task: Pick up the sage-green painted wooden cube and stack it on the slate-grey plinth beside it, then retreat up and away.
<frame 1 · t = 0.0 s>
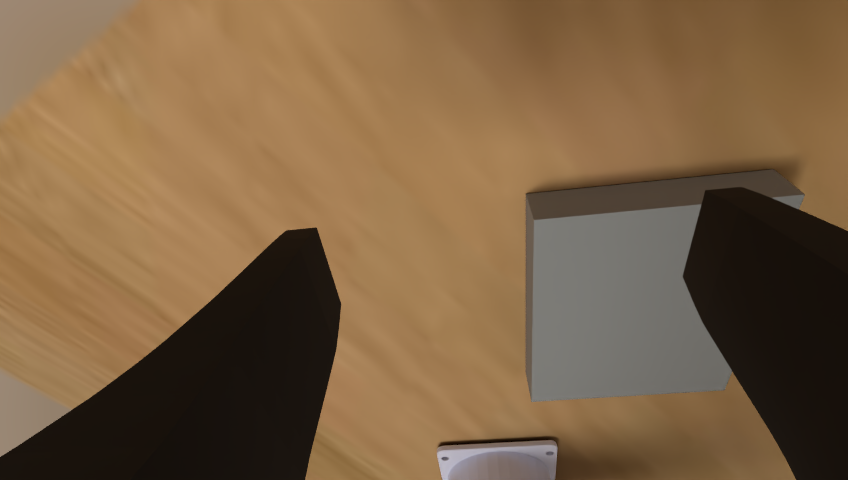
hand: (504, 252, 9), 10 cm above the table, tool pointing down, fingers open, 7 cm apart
slate plinth: (628, 287, 23), on the table
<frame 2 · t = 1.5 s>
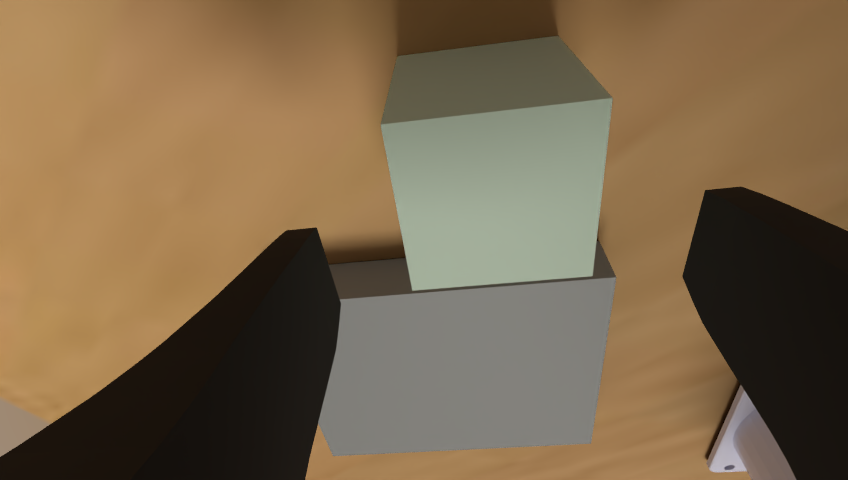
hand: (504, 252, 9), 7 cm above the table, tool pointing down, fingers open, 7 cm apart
slate plinth: (447, 344, 20), on the table
sage cube: (480, 121, 14), on the table
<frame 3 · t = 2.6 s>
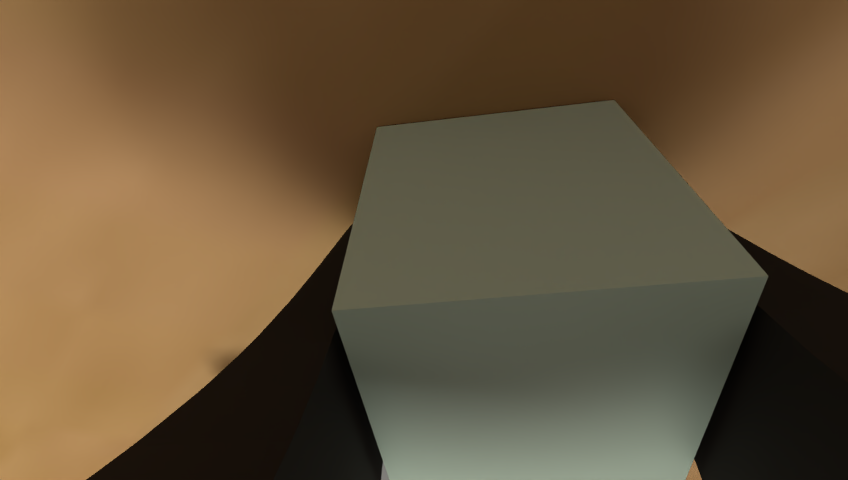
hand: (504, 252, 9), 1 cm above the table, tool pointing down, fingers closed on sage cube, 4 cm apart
sage cube: (496, 212, 10), on the table, touching gripper
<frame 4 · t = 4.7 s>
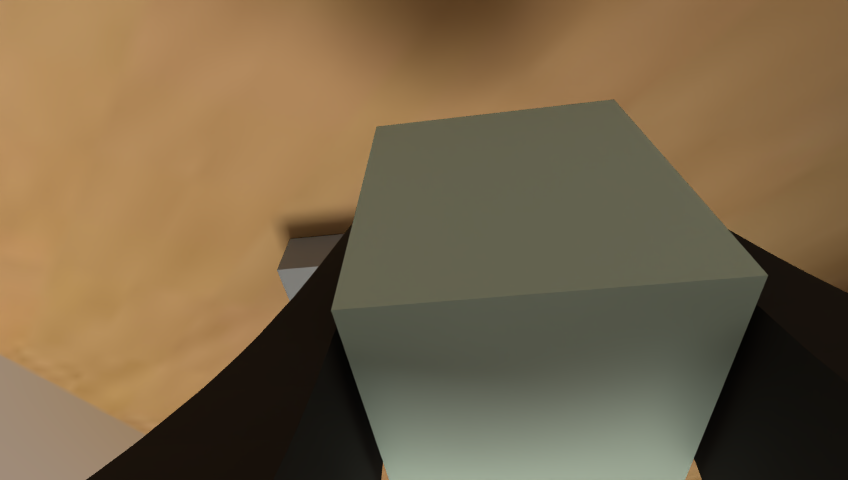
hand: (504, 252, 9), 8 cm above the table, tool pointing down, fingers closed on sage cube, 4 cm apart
slate plinth: (445, 312, 22), on the table
sage cube: (496, 211, 10), point 7 cm above the table, touching gripper
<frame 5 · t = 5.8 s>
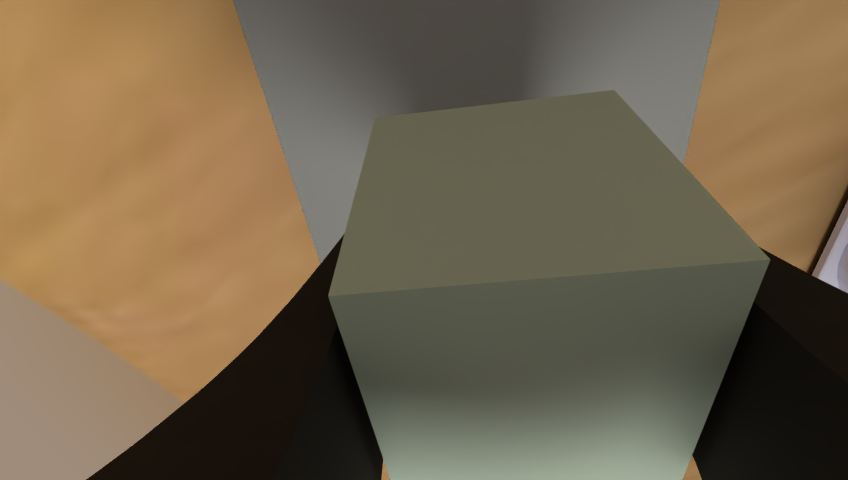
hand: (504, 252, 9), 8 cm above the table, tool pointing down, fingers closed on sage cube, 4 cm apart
slate plinth: (477, 107, 15), on the table
sage cube: (496, 204, 10), point 6 cm above the table, touching gripper
when the fingers open (4 cm above the table, at t = 6.9 s): sage cube stays where it is, resting on slate plinth.
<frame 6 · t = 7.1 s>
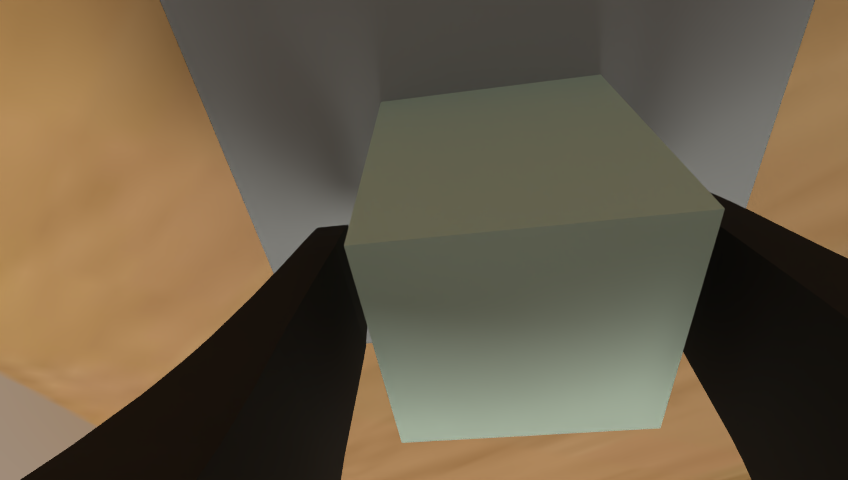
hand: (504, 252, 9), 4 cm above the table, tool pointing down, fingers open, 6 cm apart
slate plinth: (485, 151, 13), on the table
sage cube: (493, 183, 11), point 2 cm above the table, touching slate plinth
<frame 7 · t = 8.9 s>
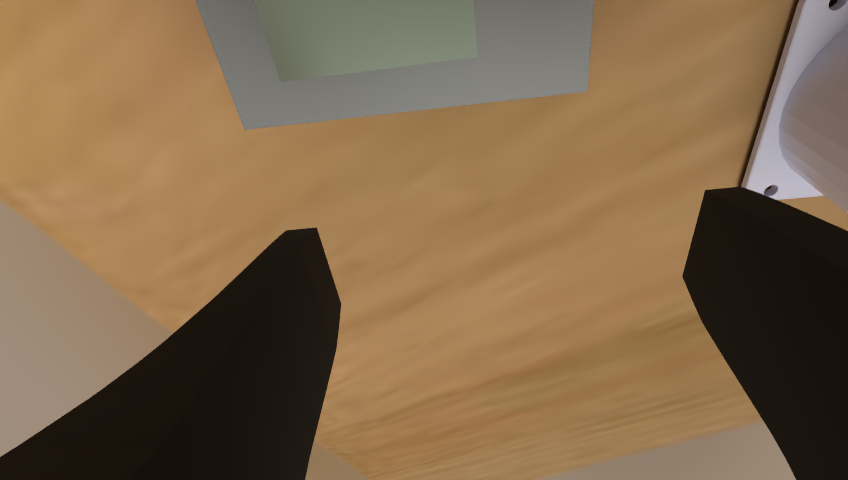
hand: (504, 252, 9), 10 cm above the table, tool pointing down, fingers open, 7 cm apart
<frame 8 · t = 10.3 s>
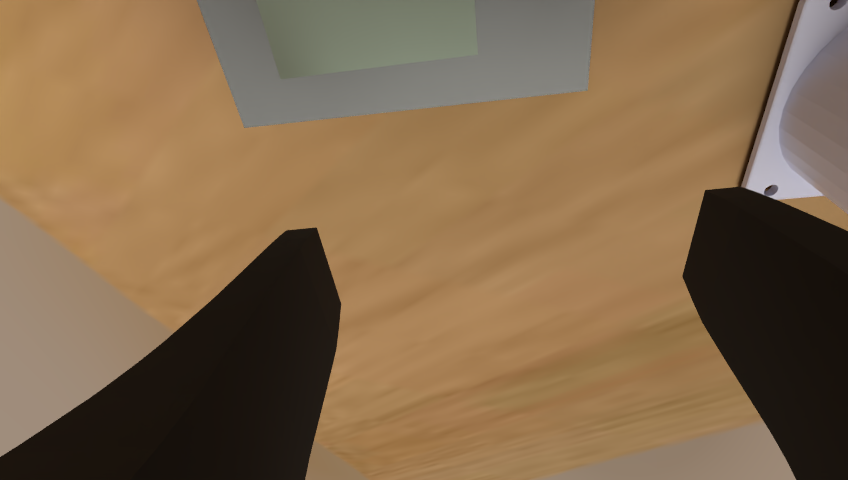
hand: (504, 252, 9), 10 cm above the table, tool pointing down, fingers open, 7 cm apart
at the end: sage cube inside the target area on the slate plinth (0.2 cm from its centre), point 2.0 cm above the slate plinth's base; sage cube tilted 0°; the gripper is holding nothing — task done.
